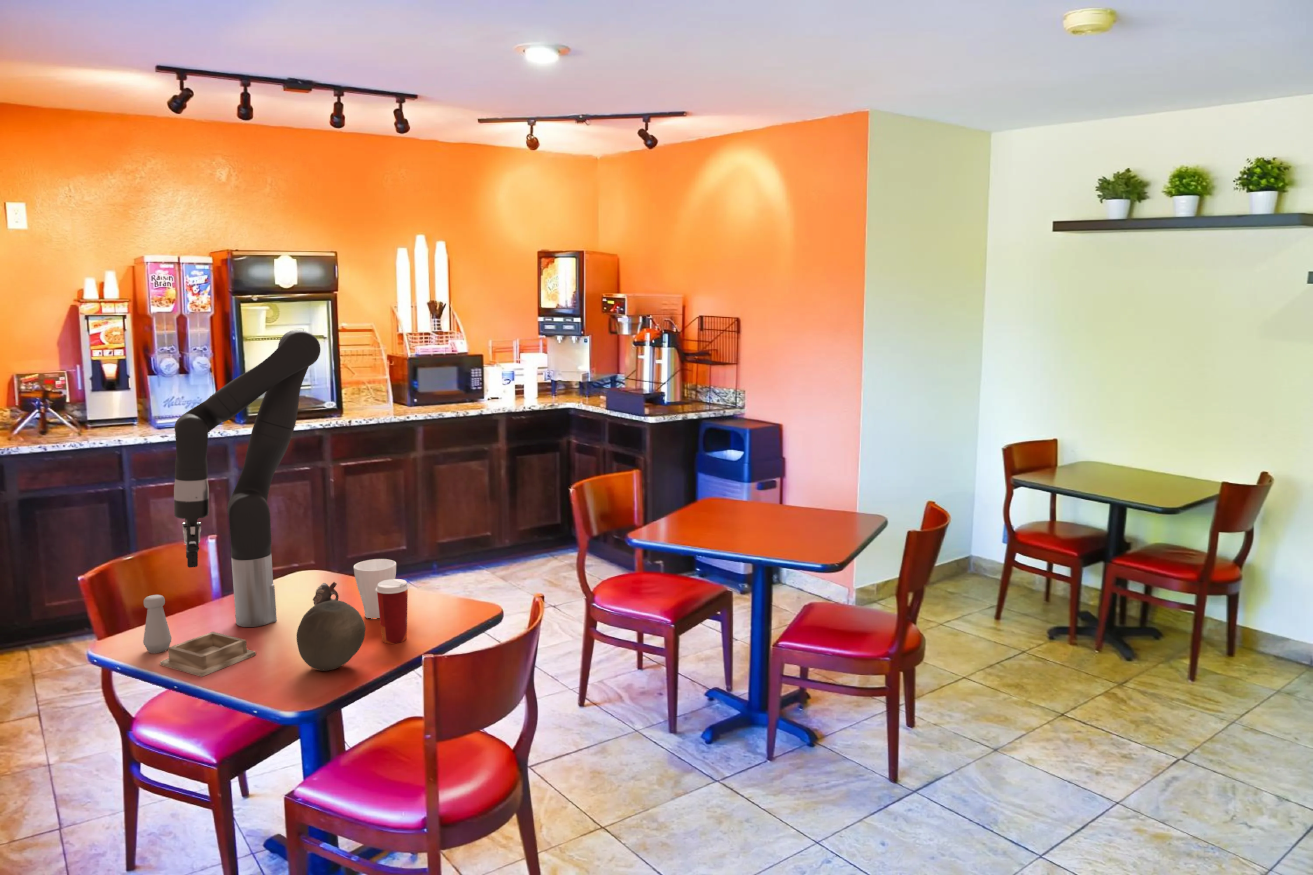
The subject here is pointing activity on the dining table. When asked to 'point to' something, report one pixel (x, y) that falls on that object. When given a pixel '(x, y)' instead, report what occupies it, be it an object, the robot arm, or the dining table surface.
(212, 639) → the tray
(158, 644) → the salt shaker
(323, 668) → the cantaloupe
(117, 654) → the dining table surface
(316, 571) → the dining table surface
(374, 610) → the cup
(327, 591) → the figurine
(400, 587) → the paper cup
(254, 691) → the dining table surface
